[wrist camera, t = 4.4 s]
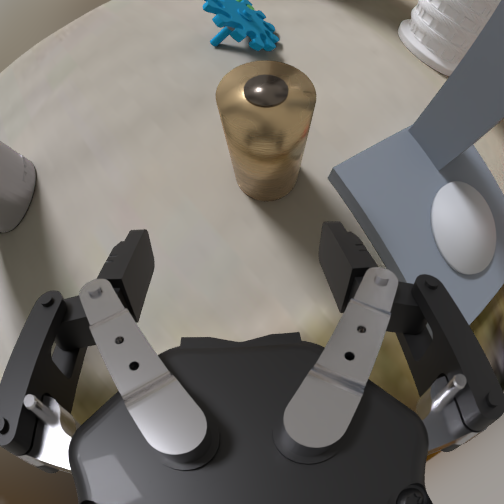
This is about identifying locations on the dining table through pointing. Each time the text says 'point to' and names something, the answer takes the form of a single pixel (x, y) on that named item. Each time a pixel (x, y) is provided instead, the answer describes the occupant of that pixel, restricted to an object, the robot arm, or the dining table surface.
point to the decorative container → (445, 30)
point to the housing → (266, 125)
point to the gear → (241, 23)
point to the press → (439, 184)
